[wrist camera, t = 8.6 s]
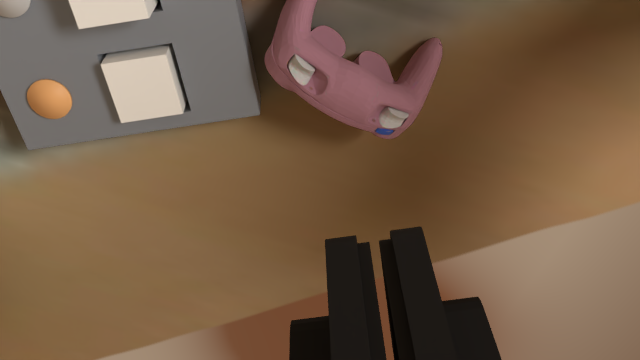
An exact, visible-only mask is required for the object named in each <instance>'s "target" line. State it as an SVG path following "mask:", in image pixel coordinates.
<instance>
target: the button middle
mask: <svg viewBox="0 0 640 360" xmlns="http://www.w3.org/2000/svg"><path fill="white" fill-rule="evenodd" d="M68 1H69V3H70V6H71V9H72V12H73V14H74V17H75V20H76V23H77V25H78V28H79V29H83V28H90V27H96V26H103V25H109V24H115V23H122V22H128V21H135V20H141V19H147V18H150V16H151V14H152V12H153V10H154V9H155V7H156V5H157V3H158V1H157V0H68Z"/></svg>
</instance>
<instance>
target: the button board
mask: <svg viewBox="0 0 640 360" xmlns="http://www.w3.org/2000/svg"><path fill="white" fill-rule="evenodd" d="M157 1H158V3H157V5H156V7H155V9H154V10H153V12H152V14H151V16H150V18H147V19H141V20H135V21H128V22H122V23H115V24H109V25H103V26H96V27H90V28H83V29H79V28H78V25H77V23H76V20H75V17H74V14H73V12H72V9H71V6H70V3H69V1H68V0H0V90H1V92H2V95H3V97H4V99H5V101H6V103H7V105H8V108H9V110H10V112H11V114H12V116H13V118H14V120H15V123H16V125H17V127H18V129H19V131H20V133H21V136H22V138H23V140H24V142H25V144H26V146H27V149H28V150H33V149H40V148H46V147H53V146H59V145H66V144H72V143H79V142H86V141H92V140H99V139H105V138H112V137H118V136H125V135H132V134H138V133H145V132H151V131H158V130H165V129H171V128H178V127H184V126H191V125H197V124H204V123H211V122H217V121H224V120H230V119H237V118H243V117H250V116H257V115H260V104H261V95H260V91H259V86H258V81H257V76H256V71H255V67H254V62H253V57H252V52H251V47H250V43H249V38H248V33H247V28H246V24H245V19H244V14H243V9H242V4H241V0H157ZM169 43H172V45H173V48H174V52H175V55H176V59H177V62H178V66H179V70H180V73H181V77H182V80H183V84H184V87H185V91H186V94H187V102H186V105H185V109H184V112H183V114H178V115H171V116H165V117H158V118H152V119H145V120H138V121H132V122H125V123H121V121H120V118H119V115H118V113H117V110H116V107H115V104H114V101H113V99H112V96H111V93H110V90H109V87H108V84H107V82H106V79H105V76H104V73H103V70H102V68H101V65H100V64H101V63H102V61H103V60H104V58H105V56H106V55H107V53H111V52H118V51H124V50H130V49H137V48H143V47H150V46H156V45H163V44H169Z"/></svg>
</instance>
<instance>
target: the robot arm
mask: <svg viewBox="0 0 640 360" xmlns="http://www.w3.org/2000/svg"><path fill="white" fill-rule="evenodd" d="M390 238H391V239H388V240H380V241H379V245H380V253H381V261H382V269H383V276H384V283H385V291H386V299H387V307H388V315H389V323H390V331H391V338H392V347H393V353H394V360H501V357H500V354H499V351H498V348H497V345H496V343H495V340H494V337H493V334H492V331H491V328H490V325H489V322H488V320H487V316H486V314H485V311H484V308H483V305H482V303H481V300H480V299H479V298H478V297H472V298H464V299H456V300H448V301H442V300H441V297H440V293H439V289H438V286H437V282H436V278H435V274H434V271H433V267H432V263H431V260H430V256H429V252H428V248H427V245H426V241H425V237H424V234H423V230H422V228H421V227H414V228H407V229H399V230H392V231H390ZM325 249H326V269H327V289H328V308H329V316H324V317H316V318H309V319H300V320H292V321H291V325H290V326H291V327H290V357H289V360H386V354H385V346H384V340H383V333H382V326H381V320H380V312H379V306H378V299H377V292H376V286H375V278H374V272H373V265H372V258H371V251H370V244H369V242H366V243H358V244H357V239H356V235H355V236H348V237H341V238H333V239H326V240H325Z"/></svg>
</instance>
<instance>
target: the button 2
mask: <svg viewBox="0 0 640 360" xmlns="http://www.w3.org/2000/svg"><path fill="white" fill-rule="evenodd" d="M100 65H101V68H102V70H103V73H104V76H105V79H106V82H107V84H108V87H109V90H110V93H111V96H112V99H113V101H114V104H115V107H116V110H117V113H118V115H119V118H120V121H121V123H125V122H132V121H138V120H145V119H152V118H158V117H165V116H171V115H178V114H183V112H184V109H185V105H186V102H187V94H186V91H185V87H184V84H183V80H182V77H181V73H180V70H179V66H178V62H177V59H176V55H175V52H174V48H173V45H172V43H169V44H163V45H156V46H150V47H143V48H137V49H130V50H124V51H118V52H111V53H107V55H106V56H105V58H104V60H103V61H102V63H101V64H100Z"/></svg>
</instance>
